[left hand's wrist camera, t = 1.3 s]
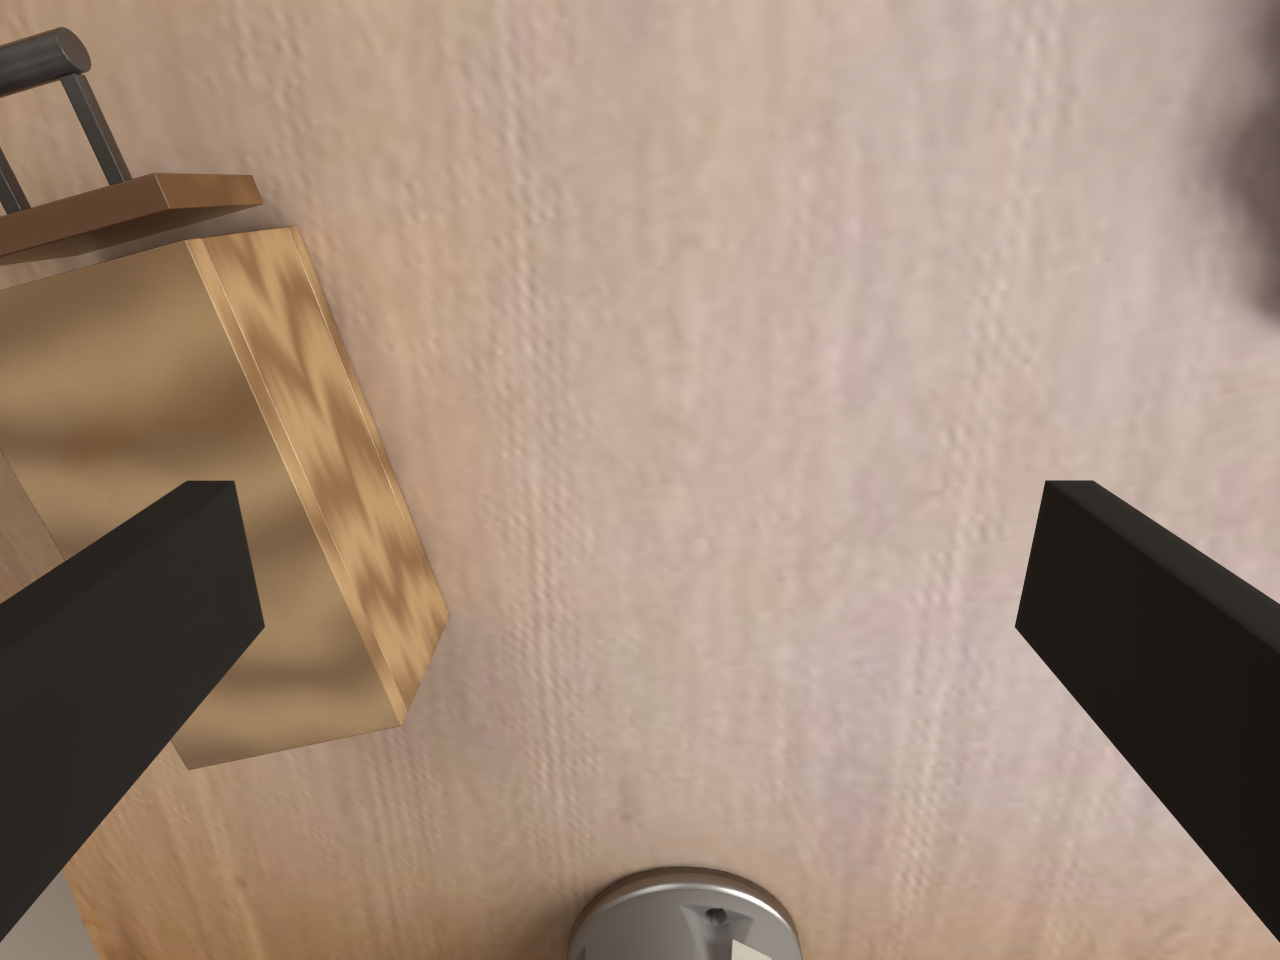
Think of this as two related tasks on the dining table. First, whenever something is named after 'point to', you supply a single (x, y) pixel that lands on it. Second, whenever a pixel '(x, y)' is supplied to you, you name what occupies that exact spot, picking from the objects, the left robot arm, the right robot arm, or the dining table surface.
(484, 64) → the dining table surface
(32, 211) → the drawer
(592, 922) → the right robot arm
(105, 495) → the wooden storage box
